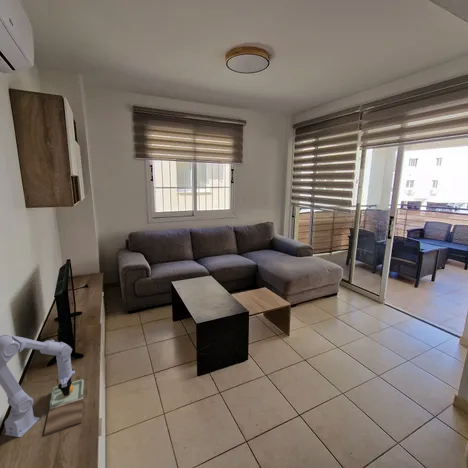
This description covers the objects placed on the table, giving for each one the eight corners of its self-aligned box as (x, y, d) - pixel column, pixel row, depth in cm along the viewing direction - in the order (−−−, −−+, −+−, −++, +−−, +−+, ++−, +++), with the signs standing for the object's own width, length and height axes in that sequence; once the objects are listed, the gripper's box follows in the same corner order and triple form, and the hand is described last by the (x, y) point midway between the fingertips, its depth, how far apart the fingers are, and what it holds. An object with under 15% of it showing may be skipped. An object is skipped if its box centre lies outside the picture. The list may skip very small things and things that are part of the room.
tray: (82, 397, 132) (82, 394, 132) (50, 407, 126) (49, 404, 125) (84, 381, 142) (83, 378, 142) (53, 390, 136) (53, 387, 136)
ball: (68, 398, 131) (67, 389, 130) (59, 396, 132) (58, 388, 131) (76, 390, 136) (75, 382, 135) (67, 389, 136) (66, 381, 135)
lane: (81, 423, 119) (81, 421, 119) (44, 435, 113) (44, 433, 112) (84, 383, 143) (84, 381, 142) (53, 391, 136) (53, 390, 136)
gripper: (72, 373, 126) (75, 397, 129) (75, 355, 139) (77, 377, 141) (55, 377, 123) (58, 402, 125) (59, 359, 135) (62, 382, 138)
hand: (67, 389), depth 133 cm, fingers open, 7 cm apart
